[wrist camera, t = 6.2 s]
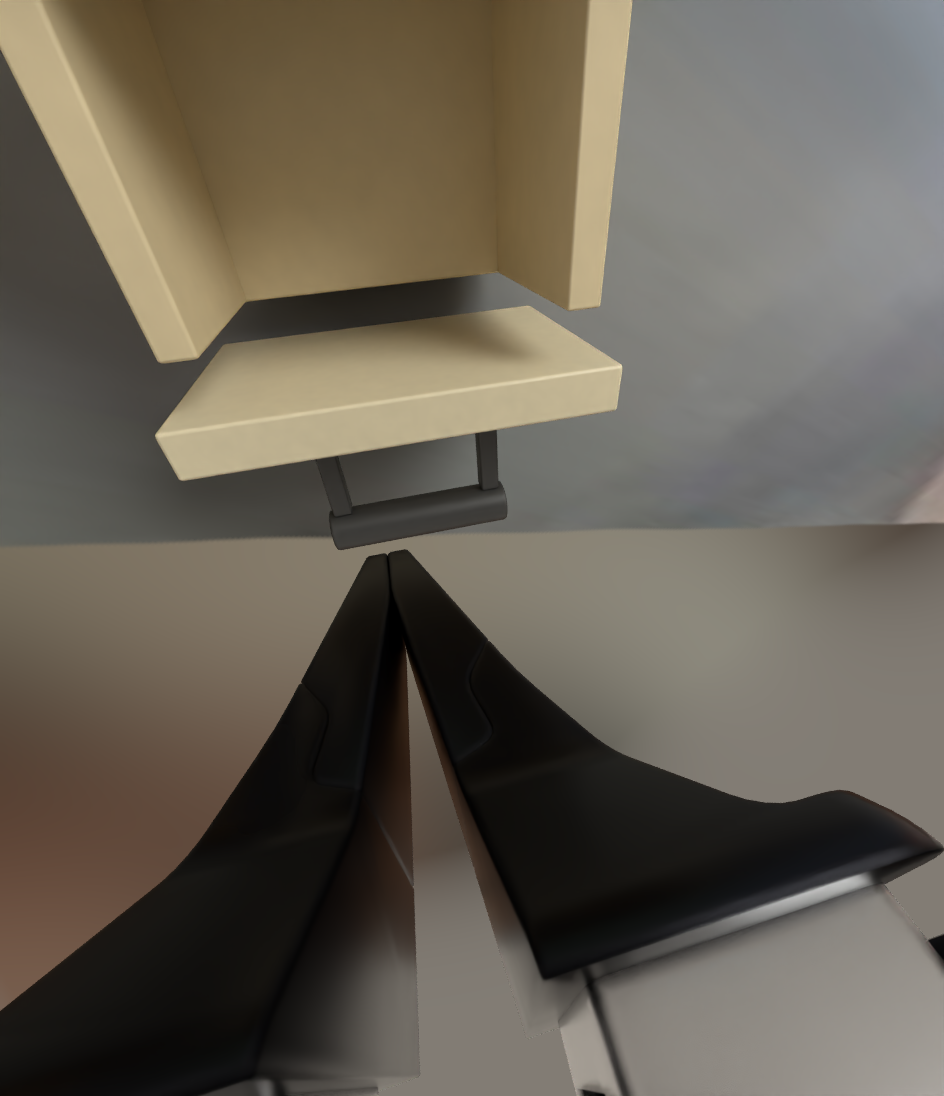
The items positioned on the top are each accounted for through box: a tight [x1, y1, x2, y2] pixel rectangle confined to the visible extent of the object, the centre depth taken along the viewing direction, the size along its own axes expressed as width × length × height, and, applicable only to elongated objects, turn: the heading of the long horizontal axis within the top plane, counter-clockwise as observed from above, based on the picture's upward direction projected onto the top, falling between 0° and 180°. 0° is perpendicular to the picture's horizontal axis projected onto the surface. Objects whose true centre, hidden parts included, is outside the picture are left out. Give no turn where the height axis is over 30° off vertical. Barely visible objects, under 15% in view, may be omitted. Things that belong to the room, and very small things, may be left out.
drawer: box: [0, 0, 633, 550], centre depth 11 cm, size 17×11×7 cm, turn 4°
